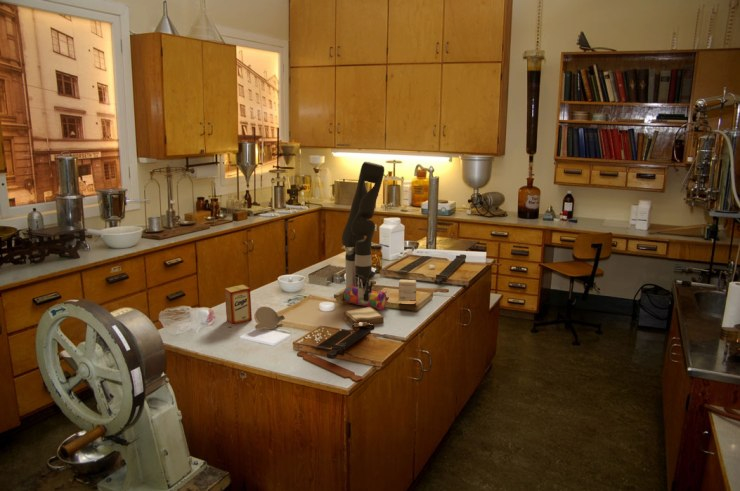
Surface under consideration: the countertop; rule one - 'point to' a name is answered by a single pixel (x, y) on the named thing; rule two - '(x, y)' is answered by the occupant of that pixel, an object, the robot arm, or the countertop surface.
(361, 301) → the weight
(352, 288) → the pencil case
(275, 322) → the grey-brown rounded piece
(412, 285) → the ink box
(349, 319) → the tray
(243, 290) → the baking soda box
